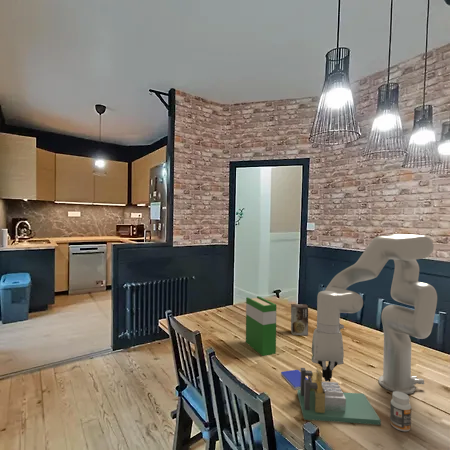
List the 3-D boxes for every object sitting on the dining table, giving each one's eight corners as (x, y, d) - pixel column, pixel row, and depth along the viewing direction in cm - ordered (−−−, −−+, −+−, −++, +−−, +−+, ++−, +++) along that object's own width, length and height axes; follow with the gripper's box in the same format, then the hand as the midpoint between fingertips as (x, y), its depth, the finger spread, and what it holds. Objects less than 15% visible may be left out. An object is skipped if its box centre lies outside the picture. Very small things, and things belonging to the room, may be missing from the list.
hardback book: (245, 342, 162) (246, 297, 162) (257, 340, 165) (258, 296, 165) (262, 356, 146) (263, 306, 146) (275, 353, 149) (276, 304, 149)
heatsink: (337, 394, 111) (337, 380, 111) (345, 412, 102) (345, 395, 101) (314, 393, 112) (315, 378, 112) (320, 410, 102) (321, 394, 102)
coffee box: (306, 331, 179) (306, 304, 179) (308, 335, 173) (308, 307, 173) (290, 330, 180) (291, 303, 180) (291, 334, 174) (292, 306, 174)
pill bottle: (408, 435, 93) (409, 402, 93) (387, 426, 97) (388, 395, 97) (412, 425, 97) (413, 395, 97) (392, 418, 101) (393, 388, 101)
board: (363, 397, 113) (364, 368, 112) (380, 424, 98) (381, 391, 97) (297, 393, 115) (297, 365, 115) (304, 419, 100) (304, 386, 100)
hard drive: (314, 384, 120) (298, 369, 132) (295, 386, 117) (280, 371, 129) (314, 388, 120) (298, 372, 132) (295, 391, 117) (280, 375, 129)
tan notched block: (316, 389, 114) (316, 361, 114) (324, 413, 100) (325, 381, 100) (307, 389, 114) (308, 361, 114) (315, 412, 100) (315, 380, 100)
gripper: (346, 324, 110) (345, 375, 110) (304, 322, 111) (303, 373, 111) (353, 332, 102) (352, 386, 102) (308, 330, 103) (307, 384, 104)
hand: (326, 379), depth 107 cm, fingers closed
